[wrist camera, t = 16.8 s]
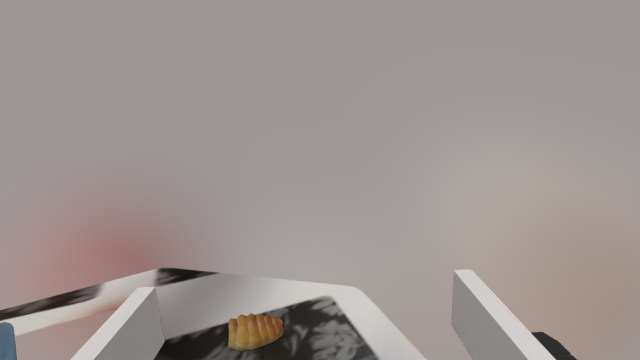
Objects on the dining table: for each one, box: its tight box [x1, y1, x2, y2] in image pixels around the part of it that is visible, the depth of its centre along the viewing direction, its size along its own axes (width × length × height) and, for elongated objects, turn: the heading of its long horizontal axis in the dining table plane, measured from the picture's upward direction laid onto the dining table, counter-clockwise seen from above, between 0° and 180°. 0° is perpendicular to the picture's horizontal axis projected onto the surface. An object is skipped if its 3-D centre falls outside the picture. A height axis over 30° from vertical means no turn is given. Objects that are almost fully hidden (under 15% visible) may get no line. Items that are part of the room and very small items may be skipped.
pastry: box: [228, 314, 284, 351], centre depth 59 cm, size 9×7×4 cm
